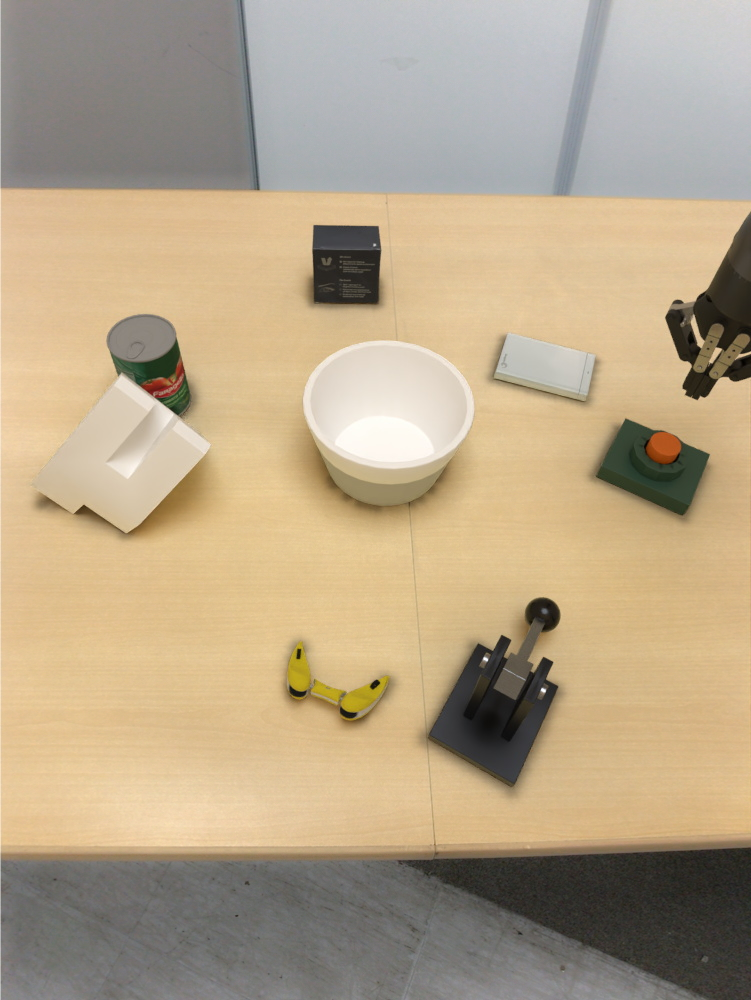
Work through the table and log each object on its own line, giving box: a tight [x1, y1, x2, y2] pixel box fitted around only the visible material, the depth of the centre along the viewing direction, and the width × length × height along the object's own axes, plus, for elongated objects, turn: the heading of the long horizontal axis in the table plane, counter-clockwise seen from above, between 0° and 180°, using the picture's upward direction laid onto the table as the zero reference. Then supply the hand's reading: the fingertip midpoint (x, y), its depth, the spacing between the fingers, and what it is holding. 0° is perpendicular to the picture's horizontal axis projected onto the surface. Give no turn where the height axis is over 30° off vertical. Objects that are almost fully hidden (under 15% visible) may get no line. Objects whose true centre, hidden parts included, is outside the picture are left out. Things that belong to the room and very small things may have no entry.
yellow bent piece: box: [285, 640, 390, 721], centre depth 73 cm, size 10×6×4 cm, turn 68°
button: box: [646, 431, 681, 464], centre depth 88 cm, size 4×4×2 cm
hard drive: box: [493, 331, 597, 402], centre depth 100 cm, size 2×8×12 cm
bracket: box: [427, 634, 559, 788], centre depth 69 cm, size 11×9×12 cm
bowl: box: [301, 339, 476, 507], centre depth 87 cm, size 19×19×11 cm
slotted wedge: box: [29, 373, 212, 534], centre depth 81 cm, size 14×11×18 cm
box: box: [311, 224, 382, 305], centre depth 104 cm, size 9×6×10 cm, turn 92°
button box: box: [595, 417, 711, 516], centre depth 90 cm, size 11×9×4 cm
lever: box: [493, 596, 562, 700], centre depth 71 cm, size 15×4×4 cm
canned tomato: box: [105, 313, 192, 418], centre depth 90 cm, size 8×8×11 cm
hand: (693, 393), depth 80 cm, fingers closed
